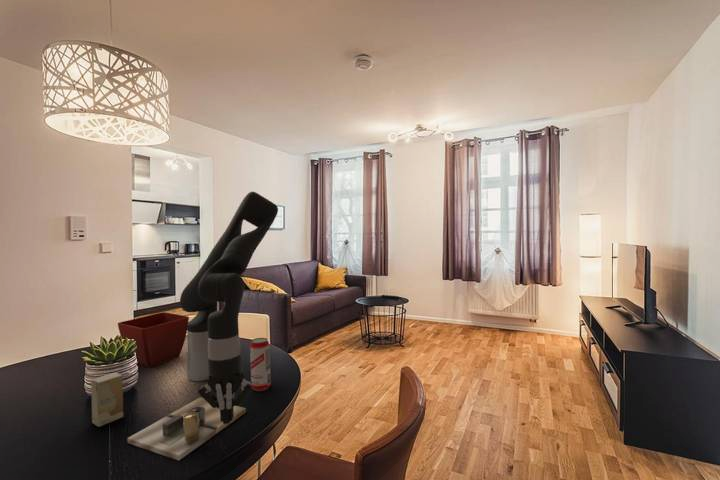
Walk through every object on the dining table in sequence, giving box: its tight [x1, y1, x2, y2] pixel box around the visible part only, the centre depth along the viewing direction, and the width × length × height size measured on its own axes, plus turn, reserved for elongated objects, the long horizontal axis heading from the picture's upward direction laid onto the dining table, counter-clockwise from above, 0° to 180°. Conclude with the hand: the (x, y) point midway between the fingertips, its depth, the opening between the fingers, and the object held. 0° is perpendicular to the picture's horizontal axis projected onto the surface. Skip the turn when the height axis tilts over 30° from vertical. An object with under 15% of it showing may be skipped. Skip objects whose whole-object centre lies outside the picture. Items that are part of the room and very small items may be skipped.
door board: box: [126, 397, 247, 462], centre depth 92 cm, size 18×22×4 cm
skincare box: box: [90, 372, 124, 428], centre depth 96 cm, size 6×4×12 cm
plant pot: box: [117, 312, 190, 368], centre depth 141 cm, size 19×19×17 cm
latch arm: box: [184, 407, 205, 442], centre depth 87 cm, size 12×4×6 cm, turn 19°
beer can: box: [249, 337, 272, 392], centre depth 113 cm, size 6×6×16 cm
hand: (227, 421), depth 85 cm, fingers closed
